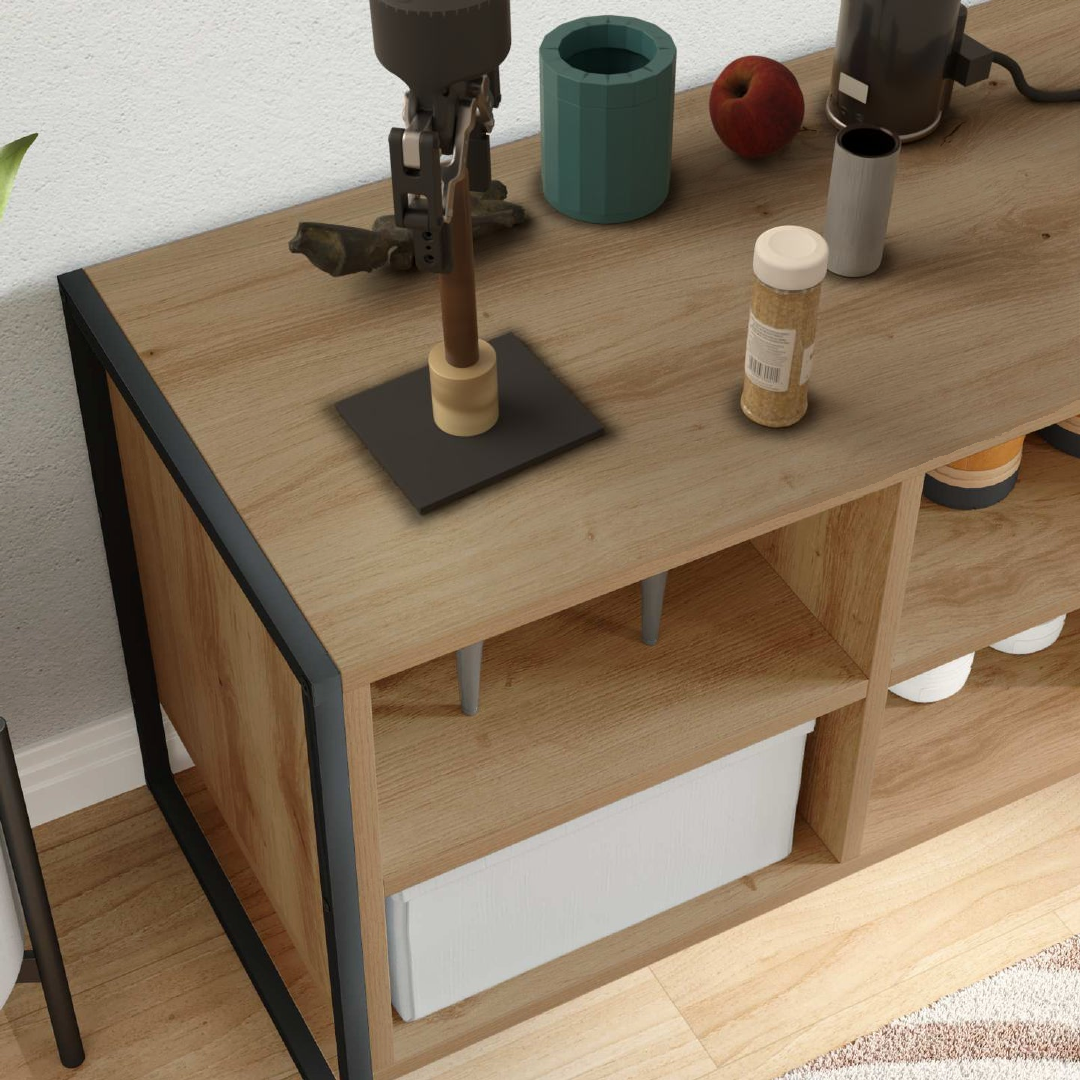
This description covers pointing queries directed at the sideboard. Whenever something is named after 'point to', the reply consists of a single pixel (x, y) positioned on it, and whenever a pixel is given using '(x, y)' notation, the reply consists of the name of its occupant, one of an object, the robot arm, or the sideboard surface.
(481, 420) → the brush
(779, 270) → the spice bottle
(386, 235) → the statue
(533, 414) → the mat
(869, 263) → the grey hollow cylinder
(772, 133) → the apple
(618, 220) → the jar
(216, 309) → the sideboard surface
